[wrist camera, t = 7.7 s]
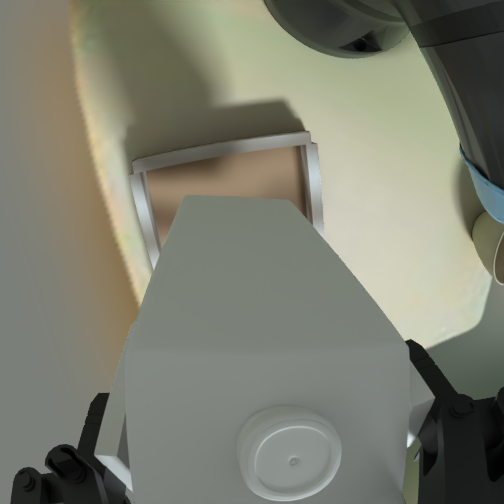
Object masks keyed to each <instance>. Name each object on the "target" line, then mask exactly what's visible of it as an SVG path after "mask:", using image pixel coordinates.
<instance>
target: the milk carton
mask: <svg viewBox="0 0 504 504" xmlns="http://www.w3.org/2000/svg"><path fill="white" fill-rule="evenodd" d="M409 401H410V359H409V347H408V346H407V344H406V343H405V341H404V340H403V338H402V337H401V335H400V334H399V333H398V331H397V330H396V328H395V327H394V326H393V324H392V323H391V322H390V320H389V319H388V318H387V316H386V315H385V314H384V313H383V311H382V310H381V309H380V307H379V306H378V305H377V304H376V302H375V301H374V300H373V298H372V297H371V296H370V295H369V293H368V292H367V291H366V290H365V288H364V287H363V286H362V285H361V283H360V282H359V281H358V280H357V278H356V277H355V276H354V275H353V273H352V272H351V271H350V270H349V269H348V267H347V266H346V265H345V264H344V262H343V261H342V260H341V259H340V258H339V256H338V255H337V254H336V253H335V252H334V250H333V249H332V248H331V247H330V246H329V244H328V243H327V242H326V241H325V240H324V239H323V237H322V236H321V235H320V234H319V233H318V231H317V230H316V229H315V228H314V227H313V226H312V225H311V223H310V222H309V221H308V220H307V219H306V218H305V216H304V215H303V214H302V213H301V212H300V211H299V210H298V208H297V207H296V206H295V205H294V204H293V203H292V202H291V201H290V200H286V199H272V198H255V197H235V196H211V195H185V196H184V197H183V199H182V201H181V203H180V206H179V208H178V210H177V213H176V215H175V218H174V220H173V222H172V225H171V227H170V230H169V232H168V235H167V237H166V240H165V242H164V245H163V247H162V250H161V253H160V255H159V258H158V260H157V263H156V266H155V268H154V271H153V274H152V276H151V279H150V282H149V285H148V287H147V290H146V293H145V296H144V299H143V301H142V304H141V307H140V310H139V313H138V316H137V319H136V322H135V325H134V328H133V331H132V335H131V338H130V341H129V345H128V349H127V352H126V353H125V408H126V427H127V442H128V454H129V464H130V473H131V482H132V490H133V497H134V503H135V504H406V502H405V500H404V498H403V495H402V493H401V492H402V486H403V479H404V471H405V462H406V452H407V440H408V425H409Z"/></svg>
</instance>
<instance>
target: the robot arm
mask: <svg viewBox="0 0 504 504" xmlns="http://www.w3.org/2000/svg"><path fill="white" fill-rule="evenodd" d="M265 3H266V5H267V7H268V9H269V11H270V12H271V14H272V15H273V17H274V18H275V20H276V21H277V22H278V23H279V24H280V26H281V27H282V28H283V29H284V30H285V31H287V32H288V33H289V34H290V35H291V36H293V37H294V38H295V39H297V40H298V41H300V42H301V43H303V44H304V45H306V46H308V47H310V48H312V49H314V50H316V51H319V52H321V53H324V54H327V55H331V56H335V57H340V58H352V59H354V58H365V57H369V56H373V55H376V54H379V53H382V52H385V51H387V50H389V49H391V48H393V47H394V46H395V45H397V44H398V43H399V42H400V41H402V39H403V38H404V37H405V36H406V35H407V33H408V32H409V31H410V32H411V33H412V35H413V37H414V38H415V40H416V42H417V44H418V46H419V49H420V51H421V52H422V54H423V56H424V58H425V60H426V62H427V64H428V66H429V68H430V70H431V72H432V74H433V76H434V78H435V80H436V82H437V84H438V87H439V89H440V91H441V93H442V95H443V98H444V100H445V102H446V105H447V107H448V110H449V112H450V115H451V117H452V120H453V123H454V125H455V128H456V131H457V134H458V137H459V140H460V148H459V149H460V153H461V156H462V158H463V160H464V162H465V164H466V165H467V166H468V168H469V171H470V174H471V177H472V180H473V183H474V186H475V190H476V193H477V195H478V197H479V200H480V201H481V203H482V205H483V206H484V208H485V209H486V211H487V212H488V213H489V214H490V215H491V216H492V217H493V218H494V219H495V220H497V221H498V222H501V223H503V225H504V0H265ZM134 325H135V322H133V323H132V325H131V328H130V330H129V333H128V336H127V339H126V342H125V345H124V348H123V351H122V355H121V358H120V361H119V364H118V367H117V371H116V374H115V377H114V381H113V384H112V387H111V391H110V393H98V395H97V396H96V397H95V398H94V400H93V401H92V402H91V404H90V407H89V411H88V416H87V417H86V420H85V425H84V427H83V431H82V434H81V437H80V441H79V445H78V448H77V450H76V449H75V448H74V447H73V446H71V445H67V444H63V445H58V446H57V447H54V448H53V449H52V450H51V451H50V452H49V453H48V455H47V457H46V459H45V466H46V467H47V468H48V469H49V470H51V471H52V472H53V473H47V474H40V473H39V472H38V471H37V470H36V469H34V468H31V467H26V468H23V469H21V470H20V471H19V472H18V473H17V474H16V475H15V478H14V481H13V488H12V495H11V503H10V504H131V503H130V500H129V499H128V497H127V496H126V495H125V491H126V486H127V487H128V488H129V489H130V490H131V491H132V492H133V490H132V482H131V473H130V464H129V454H128V442H127V427H126V408H125V353H126V352H127V349H128V345H129V341H130V338H131V335H132V331H133V328H134ZM405 343H406V344H407V346H408V347H409V359H410V401H409V425H408V440H407V447H409V446H411V445H413V444H414V442H415V441H416V439H417V437H418V438H419V440H420V442H421V443H422V445H421V446H420V448H419V450H418V452H417V454H416V455H415V459H414V461H417V460H418V458H419V489H418V490H419V491H418V504H504V387H502V388H501V389H500V390H499V392H498V394H497V396H496V397H491V398H486V399H481V400H473V399H472V398H471V397H469V396H467V395H464V394H458V393H457V392H456V391H455V390H454V388H453V387H452V386H451V384H450V383H449V381H448V380H447V379H446V377H445V376H444V375H443V373H442V372H441V370H440V369H439V368H438V366H437V365H435V362H434V361H433V360H432V359H431V357H429V355H428V353H427V352H426V351H425V349H424V348H423V347H422V346H421V345H420V344H418V343H416V342H415V341H413V340H412V339H410V340H407V341H405Z"/></svg>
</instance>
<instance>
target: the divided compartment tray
mask: <svg viewBox="0 0 504 504" xmlns="http://www.w3.org/2000/svg"><path fill="white" fill-rule="evenodd" d="M132 166H133V171H134V172H133V173H131V174H130V175H129V178H130V183H131V187H132V192H133V196H134V200H135V204H136V208H137V212H138V216H139V220H140V224H141V228H142V232H143V235H144V239H145V243H146V246H147V250H148V253H149V257H150V260H151V264H152V267H153V270H154V268H155V266H156V263H157V260H158V258H159V255H160V253H161V250H162V247H163V245H164V242H165V240H166V237H167V235H168V232H169V230H170V227H171V225H172V222H173V220H174V218H175V215H176V213H177V210H178V208H179V206H180V203H181V201H182V199H183V197H184V196H185V195H211V196H235V197H255V198H272V199H286V200H290V201H291V202H292V203H293V204H294V205H295V206H296V207H297V208H298V210H299V211H300V212H301V213H302V214H303V215H304V216H305V218H306V219H307V220H308V221H309V222H310V223H311V225H312V226H313V227H314V228H315V229H316V230H317V231H318V233H319V234H320V235H321V236H322V237H323V239H324V222H323V206H322V192H321V180H320V168H319V157H318V147H317V143H313V142H311V135H310V132H309V131H296V132H287V133H278V134H270V135H262V136H254V137H247V138H240V139H234V140H228V141H221V142H216V143H210V144H204V145H199V146H193V147H188V148H183V149H178V150H173V151H169V152H164V153H159V154H155V155H151V156H146V157H142V158H138V159H135V160H133V162H132Z"/></svg>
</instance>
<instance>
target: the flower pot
mask: <svg viewBox="0 0 504 504" xmlns="http://www.w3.org/2000/svg"><path fill="white" fill-rule="evenodd" d="M472 238H473V242H474V245H475V248H476V251H477V253H478V255H479V257H480V259H481V261H482V263H483V265H484V266H485V268H486V269H487V271H488V272H489V273H490V275H491V276H492V277H493V278H494V279H495V280H496V282H497V283H499V284H501V285H504V225H503V223H501V222H498V221H497V220H495V219H494V218H493V217H492V216H491V215H490V214H489V213H488V212H487V211H485V212H483V213H481V214H480V215H479V216H478V218H477V219H476V221H475V223H474V226H473V230H472Z"/></svg>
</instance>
